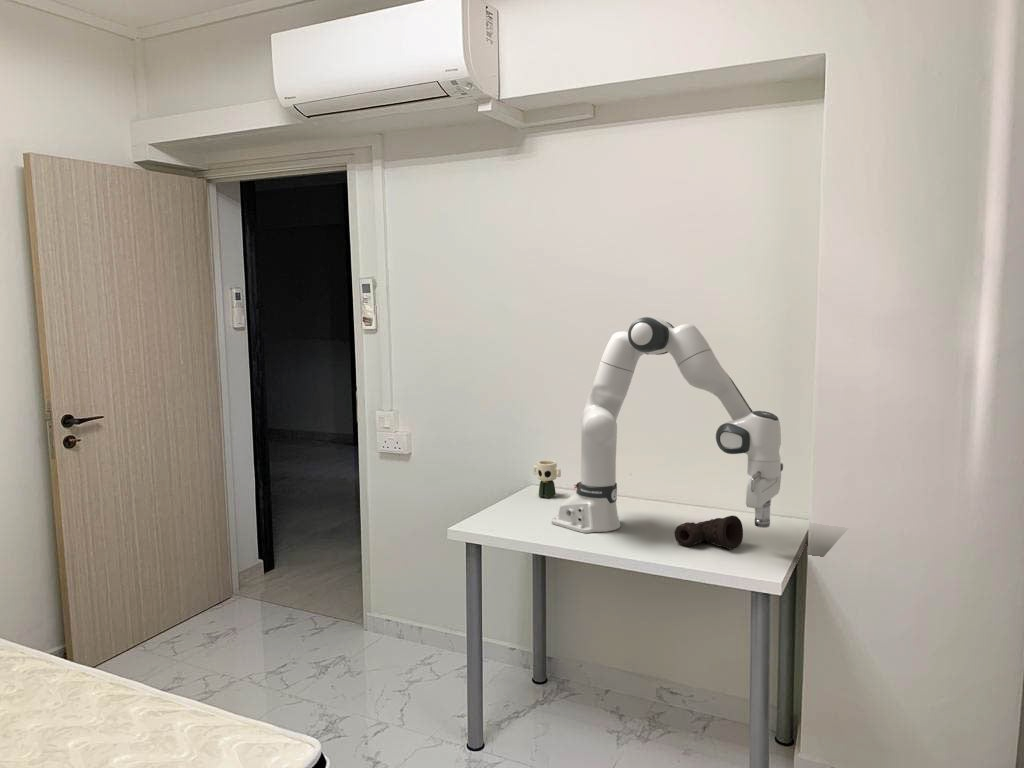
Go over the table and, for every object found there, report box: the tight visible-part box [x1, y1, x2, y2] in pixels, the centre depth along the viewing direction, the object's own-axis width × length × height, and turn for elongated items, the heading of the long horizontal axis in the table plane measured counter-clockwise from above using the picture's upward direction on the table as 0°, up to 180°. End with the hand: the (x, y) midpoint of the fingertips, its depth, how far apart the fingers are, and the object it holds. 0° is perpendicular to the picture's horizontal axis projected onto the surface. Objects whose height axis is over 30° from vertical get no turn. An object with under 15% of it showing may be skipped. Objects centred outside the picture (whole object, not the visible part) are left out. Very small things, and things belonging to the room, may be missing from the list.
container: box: [754, 501, 772, 528], centre depth 221 cm, size 4×4×7 cm
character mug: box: [533, 459, 562, 498], centre depth 286 cm, size 11×7×13 cm, turn 63°
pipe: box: [674, 515, 744, 550], centre depth 232 cm, size 10×15×15 cm
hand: (762, 516), depth 221 cm, fingers closed on container, 4 cm apart
